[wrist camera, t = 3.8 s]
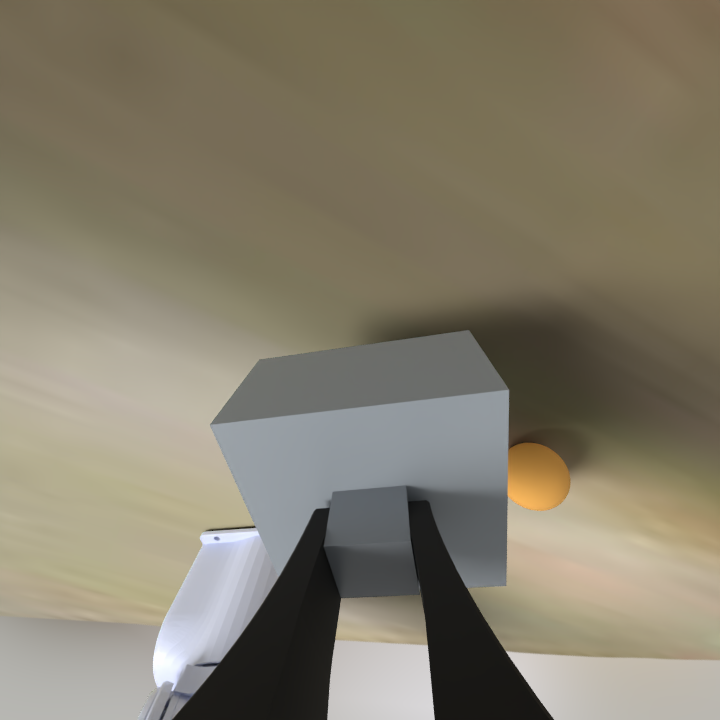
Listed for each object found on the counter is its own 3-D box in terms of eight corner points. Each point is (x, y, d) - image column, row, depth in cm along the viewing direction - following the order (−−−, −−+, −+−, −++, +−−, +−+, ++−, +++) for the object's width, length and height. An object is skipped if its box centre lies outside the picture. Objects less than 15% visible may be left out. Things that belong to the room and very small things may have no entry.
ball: (490, 478, 24) (510, 527, 20) (489, 433, 22) (511, 478, 18) (549, 473, 23) (580, 523, 20) (553, 426, 22) (588, 472, 18)
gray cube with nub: (308, 504, 18) (272, 653, 12) (259, 359, 15) (173, 471, 9) (475, 491, 17) (526, 647, 11) (469, 330, 14) (540, 435, 7)
